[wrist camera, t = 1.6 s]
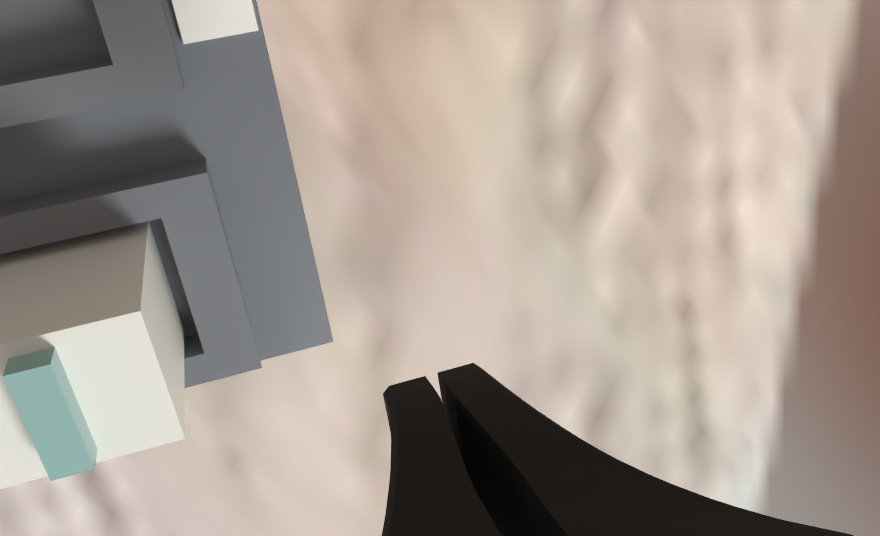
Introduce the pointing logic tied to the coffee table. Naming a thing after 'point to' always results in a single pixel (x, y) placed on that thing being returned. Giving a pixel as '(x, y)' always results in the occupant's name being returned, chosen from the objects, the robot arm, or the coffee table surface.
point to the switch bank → (163, 162)
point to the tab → (87, 354)
